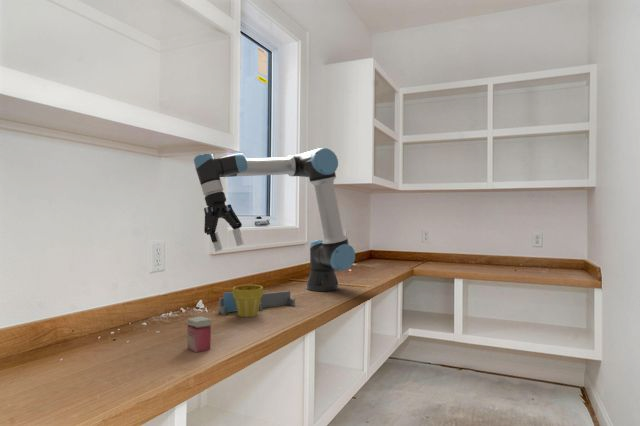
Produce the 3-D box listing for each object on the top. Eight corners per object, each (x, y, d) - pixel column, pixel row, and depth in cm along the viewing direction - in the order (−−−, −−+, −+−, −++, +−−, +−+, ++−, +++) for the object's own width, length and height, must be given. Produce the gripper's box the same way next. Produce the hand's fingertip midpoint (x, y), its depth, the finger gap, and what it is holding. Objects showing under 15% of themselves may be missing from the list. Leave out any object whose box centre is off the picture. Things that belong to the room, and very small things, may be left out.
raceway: (289, 303, 163) (289, 285, 163) (295, 305, 159) (295, 287, 159) (219, 311, 149) (219, 292, 149) (223, 314, 144) (223, 294, 144)
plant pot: (247, 320, 137) (247, 290, 137) (226, 315, 143) (226, 287, 143) (268, 314, 145) (268, 286, 145) (248, 310, 152) (248, 283, 152)
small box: (186, 348, 108) (186, 318, 108) (201, 344, 111) (201, 315, 111) (196, 353, 105) (196, 321, 105) (211, 349, 108) (211, 318, 108)
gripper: (225, 195, 169) (240, 245, 168) (183, 198, 146) (200, 255, 145) (240, 190, 166) (255, 240, 165) (199, 191, 143) (217, 250, 142)
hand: (230, 247), depth 155 cm, fingers open, 13 cm apart
